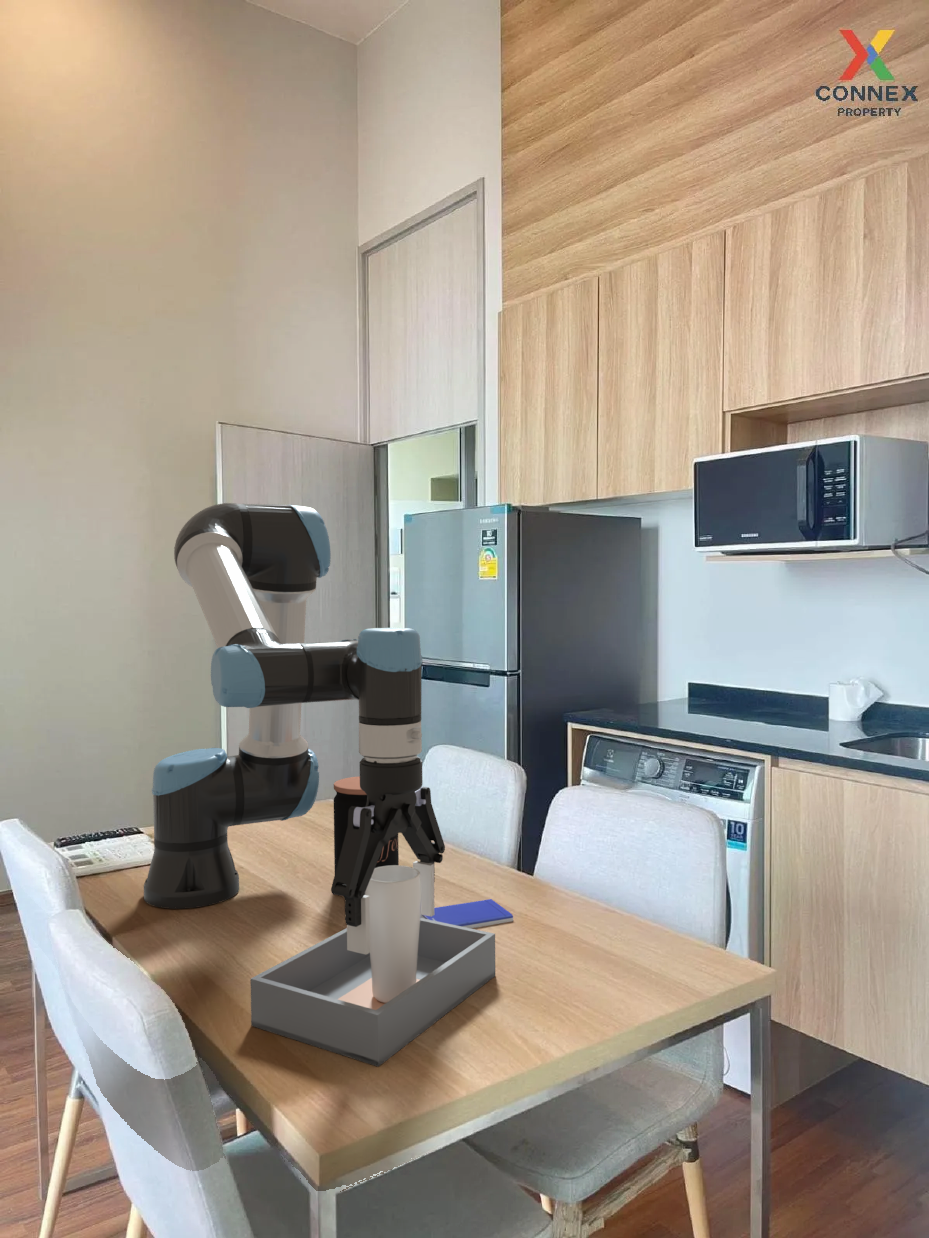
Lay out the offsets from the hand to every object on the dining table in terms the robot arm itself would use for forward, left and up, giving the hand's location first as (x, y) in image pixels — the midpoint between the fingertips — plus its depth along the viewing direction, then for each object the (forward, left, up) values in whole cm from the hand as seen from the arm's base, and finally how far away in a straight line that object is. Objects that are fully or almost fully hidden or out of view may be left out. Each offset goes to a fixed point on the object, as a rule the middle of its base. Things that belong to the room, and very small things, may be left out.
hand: (393, 931), depth 109 cm
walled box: (-2, 0, -9) cm, 9 cm away
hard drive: (-7, +28, -10) cm, 31 cm away
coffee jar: (-28, +32, -9) cm, 43 cm away
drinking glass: (0, 0, -8) cm, 8 cm away
